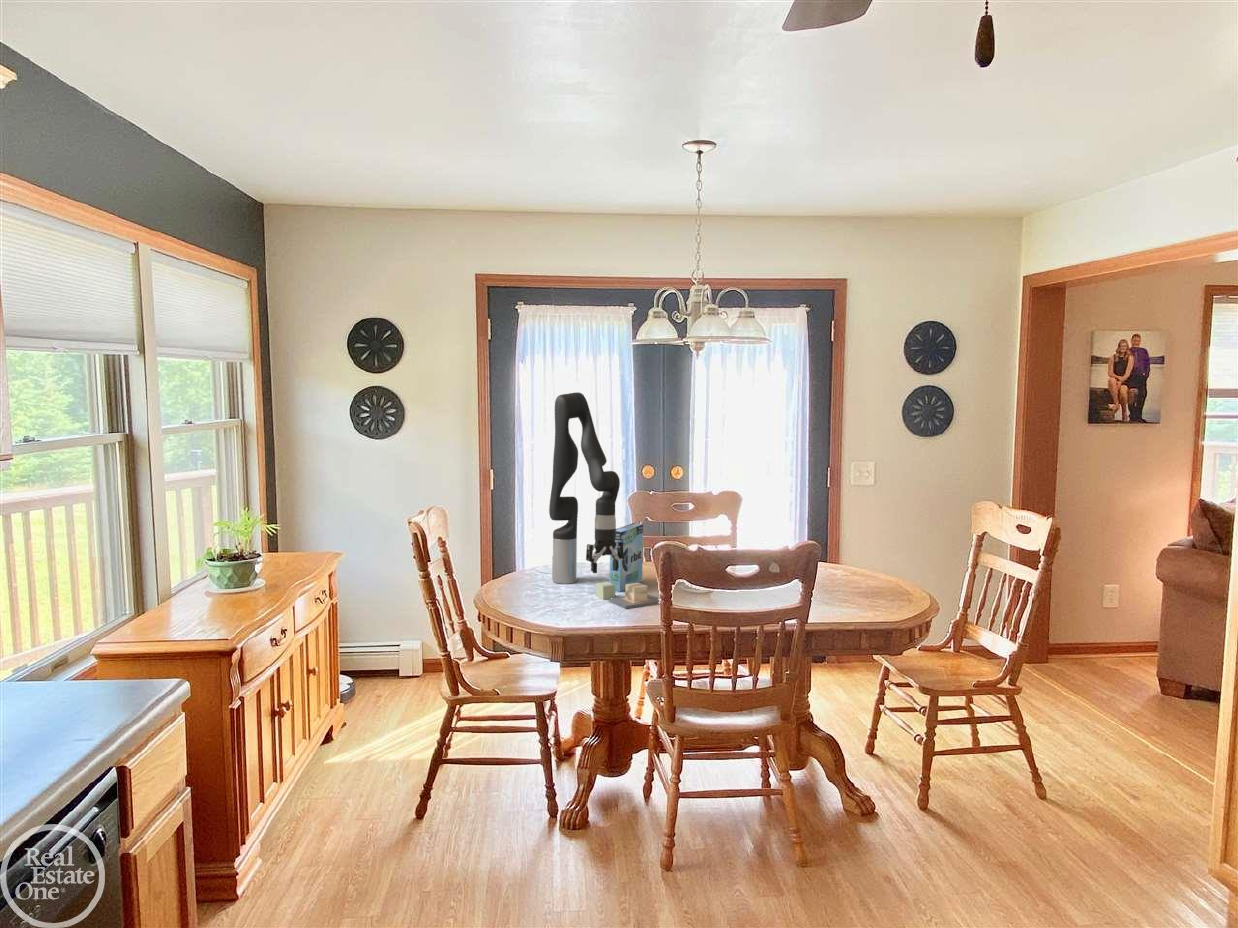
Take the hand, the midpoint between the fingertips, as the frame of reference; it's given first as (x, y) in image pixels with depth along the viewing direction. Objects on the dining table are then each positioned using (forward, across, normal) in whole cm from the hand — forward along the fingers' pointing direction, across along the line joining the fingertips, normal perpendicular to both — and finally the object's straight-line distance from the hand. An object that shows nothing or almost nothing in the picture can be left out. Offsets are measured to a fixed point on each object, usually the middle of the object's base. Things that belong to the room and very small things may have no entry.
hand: (604, 571), depth 291 cm
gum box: (+10, -16, -12) cm, 22 cm away
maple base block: (+8, -7, +10) cm, 15 cm away
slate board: (+10, -7, +10) cm, 16 cm away
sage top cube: (+10, -1, 0) cm, 10 cm away
